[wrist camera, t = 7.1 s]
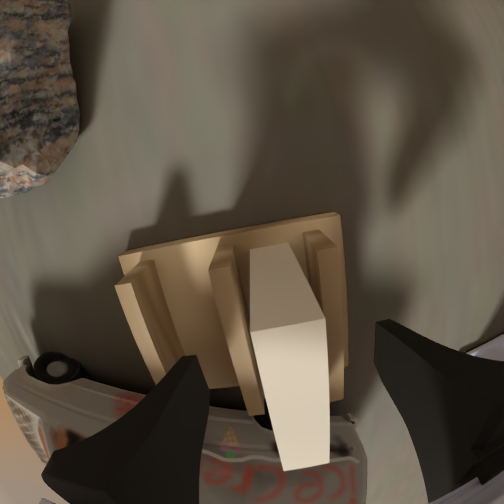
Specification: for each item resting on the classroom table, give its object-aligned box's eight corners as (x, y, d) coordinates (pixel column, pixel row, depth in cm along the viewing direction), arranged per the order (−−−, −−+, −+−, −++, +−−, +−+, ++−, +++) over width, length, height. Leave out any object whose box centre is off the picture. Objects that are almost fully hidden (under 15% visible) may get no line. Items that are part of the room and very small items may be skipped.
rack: (334, 211, 14) (363, 228, 10) (343, 356, 16) (363, 399, 12) (125, 250, 14) (90, 277, 10) (173, 381, 17) (159, 425, 13)
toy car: (31, 338, 16) (-40, 415, 7) (354, 393, 18) (398, 509, 8) (62, 422, 19) (24, 492, 10) (313, 467, 21) (328, 553, 11)
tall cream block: (288, 242, 13) (325, 318, 6) (304, 361, 15) (329, 462, 8) (249, 249, 13) (249, 331, 7) (272, 367, 15) (283, 471, 9)
